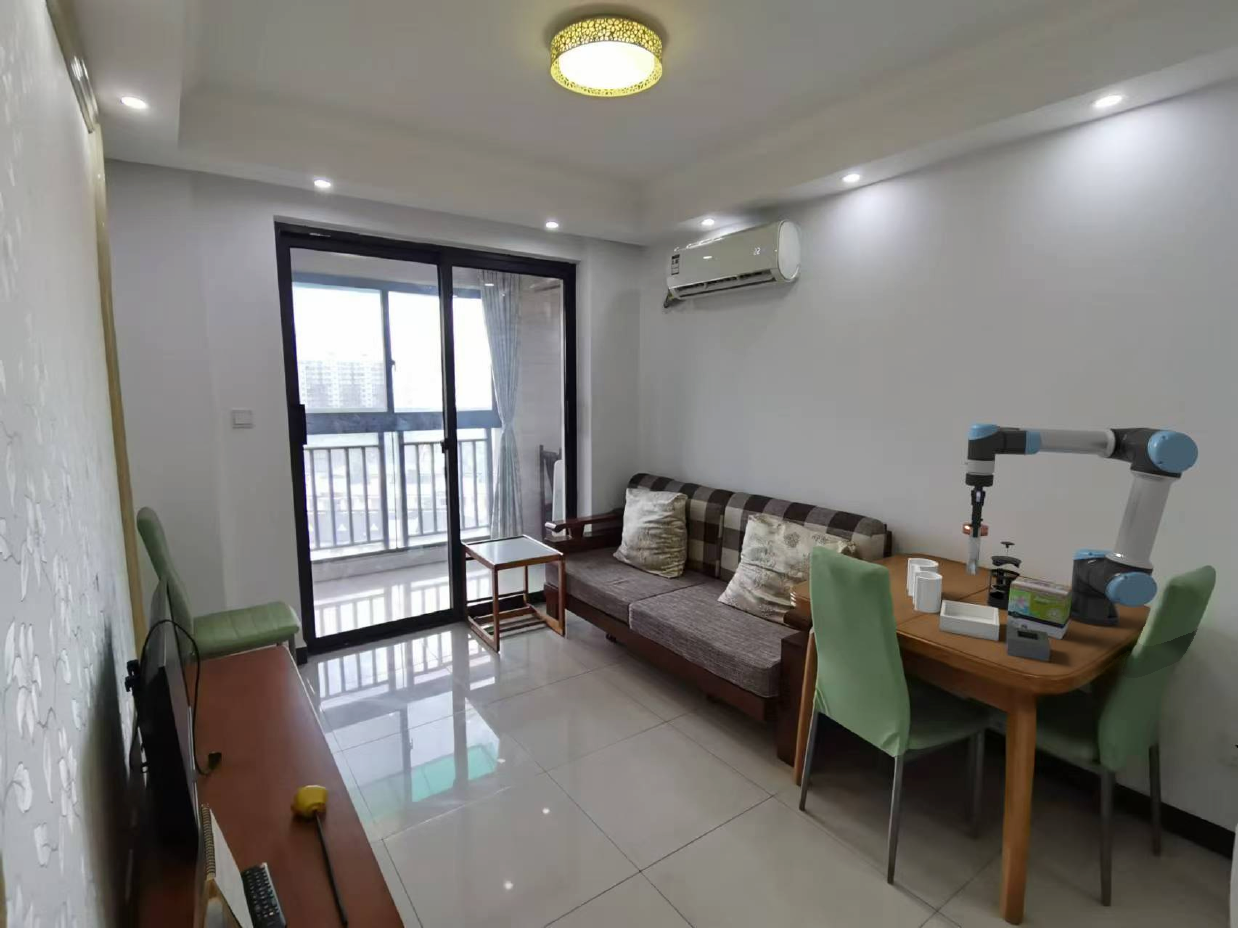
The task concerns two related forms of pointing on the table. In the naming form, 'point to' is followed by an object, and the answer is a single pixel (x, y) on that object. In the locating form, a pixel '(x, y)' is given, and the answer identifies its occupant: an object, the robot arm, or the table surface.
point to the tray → (969, 620)
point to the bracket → (924, 584)
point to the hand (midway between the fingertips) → (974, 543)
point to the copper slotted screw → (973, 549)
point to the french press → (1002, 590)
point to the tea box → (1039, 606)
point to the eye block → (1027, 643)
